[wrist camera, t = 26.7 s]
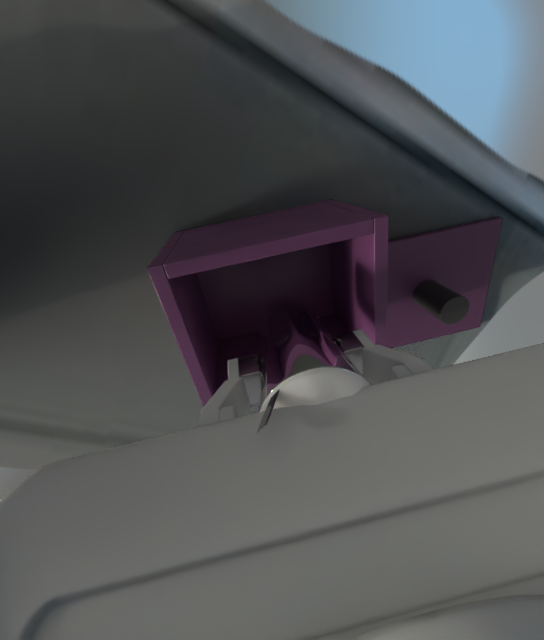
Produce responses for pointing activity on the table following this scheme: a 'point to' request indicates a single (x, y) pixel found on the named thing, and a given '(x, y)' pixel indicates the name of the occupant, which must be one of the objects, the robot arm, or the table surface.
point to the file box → (271, 280)
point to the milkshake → (300, 360)
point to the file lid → (439, 281)
